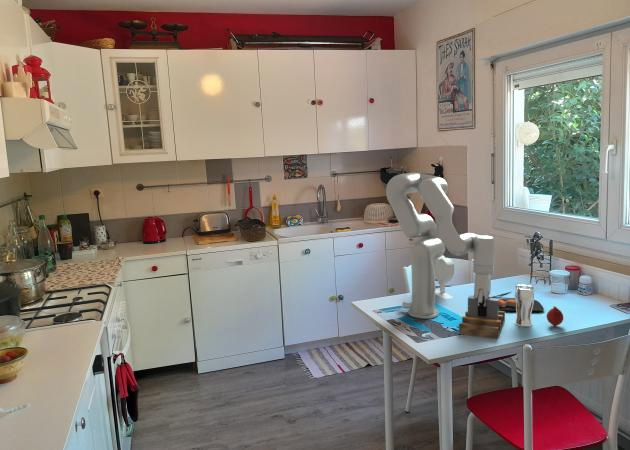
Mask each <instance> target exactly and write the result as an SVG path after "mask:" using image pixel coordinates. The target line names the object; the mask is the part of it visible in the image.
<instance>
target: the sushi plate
mask: <svg viewBox="0 0 630 450" xmlns="http://www.w3.org/2000/svg"><path fill="white" fill-rule="evenodd" d="M511 293H512V291H509V292H506V293H501V294H497V295H493V296H489V297H488V298H497V299H499V311H504V312H506V311H509V312H510V311H513V312H516V307H515V297H501V296H505V295H508V294H511ZM544 310H545V308H544V306H543V305H542V304H541V302H540V301H538V300H536V299H534V303H533V308H532V312H543V311H544Z"/></svg>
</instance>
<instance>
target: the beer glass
mask: <svg viewBox="0 0 630 450" xmlns="http://www.w3.org/2000/svg"><path fill="white" fill-rule="evenodd" d="M534 289H535V287H534V286H532V285H528V284H517V285H516V286H515V290H514V298H515V307H516V311H515V312H516V317H515V321H514V324H515V325H516V326H518V327H521V328H528V327H529V328H530V327H532V326H533V324H532V323H533V322H532V321H533V320H532V313H533V311H532V308H533V303H534V300H535V290H534Z"/></svg>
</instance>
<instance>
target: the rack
mask: <svg viewBox="0 0 630 450" xmlns="http://www.w3.org/2000/svg"><path fill="white" fill-rule="evenodd" d="M464 314H465V315H464V316H461V320H462V321H461V322H459V323H458V334H459V335H466V336H473V337H480V338H488V339H496V340H498V339H499V337H500V335H501V332H502V330H503V327H504V324H505V321H506V320H505V319H506V311H503V310H499V320H492V319H483V318H475V317H468V310H466V311H465V313H464Z"/></svg>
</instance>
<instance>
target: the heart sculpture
mask: <svg viewBox="0 0 630 450" xmlns="http://www.w3.org/2000/svg"><path fill="white" fill-rule="evenodd" d="M432 262H433V266H434V269H435V280H436V281H437V283H438V285H439V290H437V291H436V290H435V295H437V296H439V297H440V298H442V299H445V300H449V299H453V298H454V297H453V296H452V295H450V294H448V293H446V284H448V282H450V281H451V280H452V279H453V277H454V274H455V263H454V261H453V260H452V258H450V257H446V256H445V255H444V254H443V255H442V256H441V257H440V258H438V259H435V260H433V261H432Z"/></svg>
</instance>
